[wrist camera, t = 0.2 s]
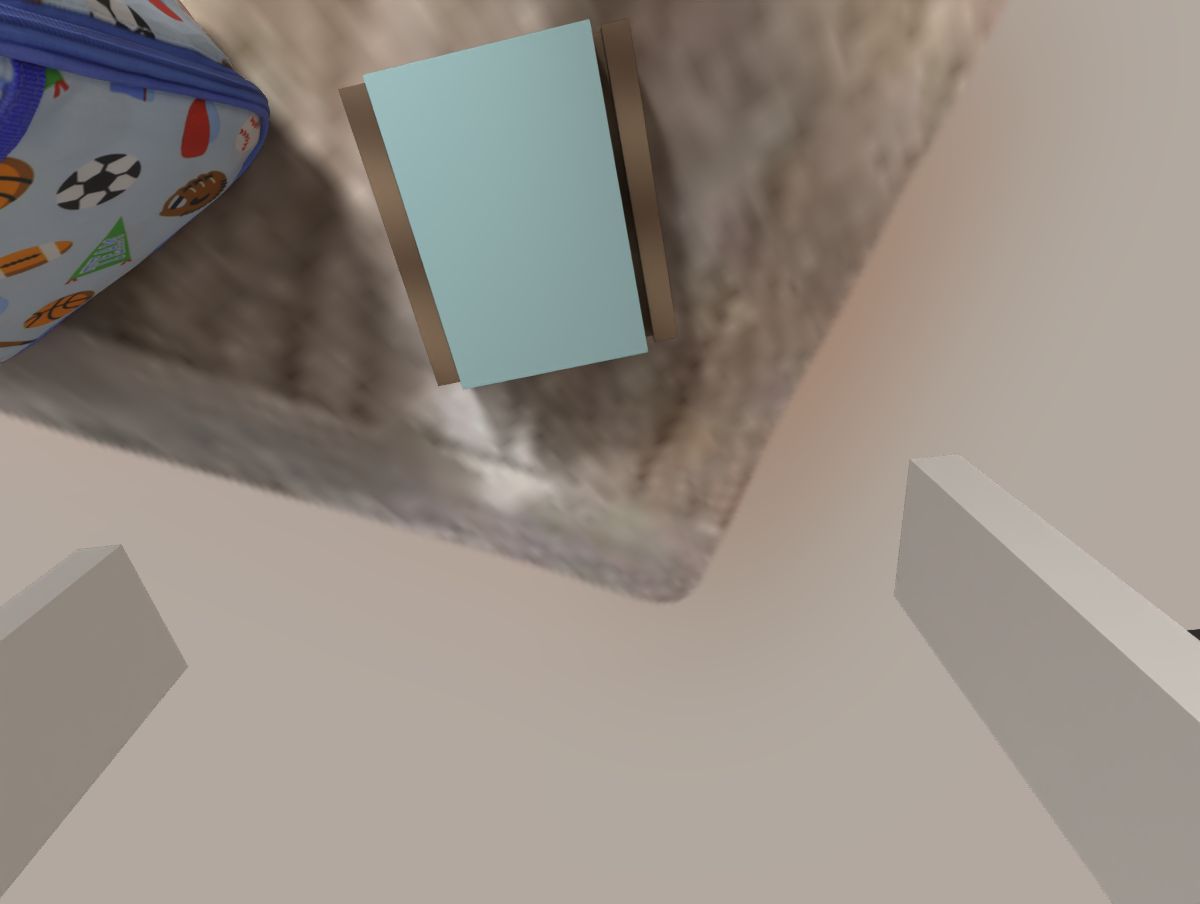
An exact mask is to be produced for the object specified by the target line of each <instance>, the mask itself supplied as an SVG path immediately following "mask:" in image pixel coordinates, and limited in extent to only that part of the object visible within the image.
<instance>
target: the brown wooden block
mask: <svg viewBox="0 0 1200 904" xmlns="http://www.w3.org/2000/svg"><path fill="white" fill-rule="evenodd" d="M592 36H593V41H594V47H595V53H596V58H597V64H598V70H599V76H600V81H601V87H602V93H603V98H604V104H605V110H606V115H607V121H608V127H609V132H610V138H611V144H612V149H613V155H614V161H615V166H616V172H617V178H618V183H619V189H620V195H621V201H622V206H623V212H624V218H625V223H626V229H627V235H628V240H629V246H630V252H631V257H632V263H633V269H634V274H635V280H636V286H637V291H638V297H639V303H640V309H641V314H642V320H643V326H644V331H645V337H646V336H651V335H653V338H654V341H655V342H656V341H661V340H666V339H671V338H676V337H678V336H677V330H676V323H675V316H674V310H673V303H672V297H671V290H670V284H669V277H668V271H667V264H666V257H665V251H664V244H663V238H662V231H661V225H660V218H659V212H658V205H657V199H656V192H655V185H654V179H653V172H652V166H651V159H650V153H649V146H648V140H647V133H646V127H645V120H644V113H643V107H642V100H641V94H640V87H639V81H638V74H637V68H636V61H635V55H634V48H633V41H632V35H631V28H630V22H629V18H627V19H622V20H618V21H614V22H610V23H606V24H602V25H601V32H597V33H593V34H592ZM338 90H339V93H340V96H341V99H342V102H343V105H344V108H345V111H346V114H347V117H348V120H349V123H350V125H351V128H352V131H353V134H354V137H355V140H356V143H357V146H358V149H359V152H360V155H361V158H362V161H363V164H364V167H365V170H366V173H367V176H368V179H369V182H370V185H371V188H372V191H373V194H374V197H375V200H376V203H377V205H378V208H379V211H380V214H381V217H382V220H383V223H384V226H385V229H386V232H387V235H388V238H389V241H390V244H391V247H392V250H393V253H394V256H395V259H396V262H397V265H398V268H399V271H400V274H401V277H402V280H403V283H404V285H405V288H406V291H407V294H408V297H409V300H410V303H411V306H412V309H413V312H414V315H415V318H416V321H417V324H418V327H419V330H420V333H421V336H422V339H423V342H424V345H425V348H426V351H427V354H428V357H429V360H430V362H431V365H432V368H433V371H434V374H435V377H436V380H437V383H438V386H441V385H446V384H451V383H456V382H460V378H459V375H458V372H457V369H456V366H455V363H454V360H453V357H452V353H451V350H450V347H449V344H448V341H447V338H446V335H445V332H444V328H443V325H442V322H441V319H440V316H439V313H438V310H437V307H436V303H435V300H434V297H433V294H432V291H431V288H430V285H429V282H428V278H427V275H426V272H425V269H424V266H423V263H422V260H421V257H420V253H419V250H418V247H417V244H416V241H415V238H414V235H413V232H412V228H411V225H410V222H409V219H408V216H407V213H406V210H405V207H404V203H403V200H402V197H401V194H400V191H399V188H398V185H397V182H396V178H395V175H394V172H393V169H392V166H391V163H390V160H389V157H388V153H387V150H386V147H385V144H384V141H383V138H382V135H381V132H380V128H379V125H378V122H377V119H376V116H375V113H374V110H373V106H372V103H371V100H370V97H369V94H368V91H367V88H366V85H365V83H362V84H358V85H354V86H350V87H346V88H342V89H338Z"/></svg>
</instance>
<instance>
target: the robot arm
mask: <svg viewBox="0 0 1200 904" xmlns="http://www.w3.org/2000/svg"><path fill="white" fill-rule="evenodd" d="M894 597H895V598H896V600H897V601H898V602H899V604H900V605H901V607H902V608H903V609H904V611H905V612H906V614H907V615H908V616H909V618H910V619H911V621H912V622H913V624H914V625H915V626H916V628H917V629H918V631H919V632H920V633H921V635H922V636H923V637H924V639H925V640H926V642H927V643H928V645H929V646H930V647H931V649H932V650H933V652H934V653H935V655H936V656H937V657H938V658H939V660H940V662H941V663H942V664H943V666H944V667H945V669H946V670H947V671H948V673H949V674H950V676H951V677H952V679H953V680H954V681H955V683H956V684H957V686H958V687H959V688H960V690H961V691H962V693H963V694H964V695H965V697H966V698H967V700H968V701H969V702H970V704H971V705H972V707H973V708H974V710H975V711H976V712H977V714H978V715H979V717H980V718H981V719H982V721H983V722H984V724H985V725H986V726H987V728H988V729H989V731H990V732H991V733H992V735H993V736H994V738H995V739H996V741H997V742H998V743H999V745H1000V746H1001V748H1002V749H1003V750H1004V752H1005V753H1006V755H1007V756H1008V757H1009V759H1010V760H1011V762H1012V763H1013V764H1014V766H1015V767H1016V769H1017V770H1018V771H1019V773H1020V774H1021V776H1022V777H1023V779H1024V780H1025V781H1026V783H1027V784H1028V785H1029V787H1030V788H1031V790H1032V791H1033V793H1034V794H1035V795H1036V797H1037V798H1038V800H1039V801H1040V802H1041V804H1042V805H1043V807H1044V808H1045V810H1046V811H1047V812H1048V814H1049V815H1050V816H1051V818H1052V819H1053V821H1054V822H1055V824H1056V825H1057V826H1058V828H1059V829H1060V830H1061V832H1062V833H1063V835H1064V836H1065V838H1066V839H1067V841H1068V842H1069V843H1070V845H1071V846H1072V847H1073V849H1074V850H1075V852H1076V853H1077V855H1078V856H1079V857H1080V859H1081V860H1082V862H1083V863H1084V864H1085V866H1086V867H1087V869H1088V870H1089V871H1090V873H1091V874H1092V876H1093V877H1094V879H1095V880H1096V881H1097V883H1098V884H1099V886H1100V887H1101V888H1102V890H1103V891H1104V892H1105V894H1106V895H1107V897H1108V898H1109V900H1110V901H1111V902H1112V904H1200V629H1197V630H1185V629H1184V628H1183V627H1181V626H1180V625H1179V624H1177V623H1176V622H1175V621H1174V620H1172V619H1171V618H1170V617H1168V616H1167V615H1166V614H1164V613H1163V612H1162V611H1161V610H1159V609H1158V608H1157V607H1155V606H1154V605H1153V604H1152V603H1150V602H1149V601H1147V600H1146V599H1145V598H1144V597H1143V596H1141V595H1140V594H1139V593H1137V592H1136V591H1135V590H1133V589H1132V588H1131V587H1130V586H1128V585H1127V584H1126V583H1124V582H1123V581H1122V580H1121V579H1119V578H1118V577H1117V576H1115V575H1114V574H1113V573H1112V572H1110V571H1109V570H1108V569H1106V568H1105V567H1104V566H1102V565H1101V564H1100V563H1099V562H1097V561H1096V560H1095V559H1094V558H1092V557H1091V556H1090V555H1088V554H1087V553H1086V552H1084V551H1083V550H1082V549H1081V548H1079V547H1078V546H1077V545H1075V544H1074V543H1073V542H1072V541H1070V540H1069V539H1068V538H1066V537H1065V536H1064V535H1062V534H1061V533H1060V532H1059V531H1057V530H1056V529H1055V528H1053V527H1052V526H1051V525H1050V524H1048V523H1047V522H1046V521H1044V520H1043V519H1042V518H1041V517H1039V516H1038V515H1037V514H1035V513H1034V512H1033V511H1031V510H1030V509H1029V508H1028V507H1026V506H1025V505H1024V504H1022V503H1021V502H1020V501H1018V500H1017V499H1016V498H1015V497H1013V496H1012V495H1011V494H1009V493H1008V492H1007V491H1006V490H1004V489H1003V488H1002V487H1001V486H999V485H998V484H997V483H995V482H994V481H993V480H991V479H990V478H989V477H988V476H986V475H985V474H984V473H982V472H981V471H980V470H979V469H977V468H976V467H975V466H973V465H972V464H971V463H969V462H968V461H967V460H966V459H964V458H963V457H962V456H960V455H959V454H953V455H943V456H934V457H925V458H915V459H910V462H909V471H908V479H907V488H906V496H905V505H904V514H903V522H902V531H901V539H900V548H899V556H898V565H897V574H896V583H895V590H894ZM187 667H188V666H187V664H186V662H185V660H184V658H183V656H182V655H181V653H180V651H179V649H178V647H177V645H176V644H175V642H174V640H173V638H172V636H171V634H170V633H169V631H168V629H167V627H166V626H165V624H164V622H163V620H162V618H161V616H160V615H159V613H158V611H157V609H156V607H155V605H154V603H153V602H152V600H151V598H150V596H149V594H148V593H147V591H146V589H145V587H144V585H143V583H142V582H141V580H140V578H139V576H138V574H137V572H136V571H135V569H134V567H133V565H132V563H131V562H130V560H129V558H128V556H127V554H126V553H125V551H124V549H123V547H122V545H114V546H106V547H96V548H86V549H78V550H76V551H75V552H74V553H72V554H71V555H69V556H68V557H67V558H65V559H64V560H63V561H61V562H60V563H59V564H57V565H56V566H55V567H53V568H52V569H51V570H49V571H48V572H46V573H45V574H44V575H43V576H41V577H40V578H38V579H37V580H36V581H34V582H33V583H32V584H30V585H29V586H28V587H26V588H25V589H24V590H22V591H21V592H20V593H18V594H17V595H16V596H14V597H13V598H11V599H10V600H9V601H7V602H6V603H5V604H3V605H2V606H1V607H0V898H1V897H2V895H3V894H4V893H5V892H6V891H7V889H8V888H9V887H10V885H11V884H12V883H13V882H14V880H15V879H16V878H17V877H18V876H19V874H20V873H21V872H22V871H23V870H24V868H25V867H26V866H27V865H28V863H29V862H30V861H31V860H32V858H33V857H34V856H35V855H36V853H37V852H38V851H39V850H40V849H41V847H42V846H43V845H44V843H45V842H46V841H47V840H48V839H49V837H50V836H51V835H52V834H53V832H54V831H55V830H56V829H57V828H58V826H59V825H60V824H61V823H62V821H63V820H64V819H65V818H66V817H67V815H68V814H69V813H70V811H71V810H72V809H73V808H74V807H75V805H76V804H77V803H78V802H79V800H80V799H81V798H82V796H84V794H85V793H86V792H87V791H88V789H89V788H90V787H91V785H92V784H93V783H94V782H95V781H96V780H97V778H98V777H99V776H100V775H101V773H102V772H103V771H104V770H105V768H106V767H107V766H108V765H109V764H110V762H111V761H112V760H113V759H114V757H115V756H116V755H117V753H118V752H119V751H120V750H121V749H122V747H123V746H124V745H125V744H126V743H127V741H128V740H129V739H130V738H131V736H132V735H133V734H134V733H135V731H136V730H137V729H138V728H139V727H140V725H141V724H142V723H143V722H144V720H145V719H146V718H147V716H148V715H149V714H150V713H151V712H152V710H153V709H154V708H155V707H156V706H157V704H158V703H159V702H160V701H161V699H162V698H163V697H164V696H165V694H166V693H167V692H168V691H169V690H170V688H171V687H172V686H173V685H174V683H175V682H176V681H177V680H178V678H179V677H180V676H181V675H182V674H183V672H184V671H185V670H186V669H187Z"/></svg>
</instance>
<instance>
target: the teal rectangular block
mask: <svg viewBox="0 0 1200 904" xmlns="http://www.w3.org/2000/svg"><path fill="white" fill-rule="evenodd" d="M363 78H364V81H365V85H366V88H367V91H368V94H369V97H370V100H371V103H372V106H373V110H374V113H375V116H376V119H377V122H378V125H379V128H380V132H381V135H382V138H383V141H384V144H385V147H386V150H387V153H388V157H389V160H390V163H391V166H392V169H393V172H394V175H395V178H396V182H397V185H398V188H399V191H400V194H401V197H402V200H403V203H404V207H405V210H406V213H407V216H408V219H409V222H410V225H411V228H412V232H413V235H414V238H415V241H416V244H417V247H418V250H419V253H420V257H421V260H422V263H423V266H424V269H425V272H426V275H427V278H428V282H429V285H430V288H431V291H432V294H433V297H434V300H435V303H436V307H437V310H438V313H439V316H440V319H441V322H442V325H443V328H444V332H445V335H446V338H447V341H448V344H449V347H450V350H451V353H452V357H453V360H454V363H455V366H456V369H457V372H458V375H459V378H460V382H461V385H462V388H463V390H464V389H469V388H474V387H479V386H484V385H489V384H494V383H499V382H504V381H508V380H513V379H518V378H523V377H528V376H533V375H538V374H543V373H548V372H553V371H558V370H563V369H567V368H572V367H577V366H582V365H587V364H592V363H597V362H602V361H607V360H612V359H617V358H622V357H626V356H631V355H636V354H641V353H646V352H648V348H647V343H646V337H645V331H644V326H643V320H642V314H641V309H640V303H639V297H638V291H637V286H636V280H635V274H634V269H633V263H632V257H631V252H630V246H629V240H628V235H627V229H626V223H625V218H624V212H623V206H622V201H621V195H620V189H619V183H618V178H617V172H616V166H615V161H614V155H613V149H612V144H611V138H610V132H609V127H608V121H607V115H606V110H605V104H604V98H603V93H602V87H601V81H600V76H599V70H598V64H597V58H596V53H595V47H594V41H593V36H592V30H591V24H590V19H587V20H583V21H579V22H575V23H571V24H567V25H563V26H559V27H555V28H551V29H547V30H543V31H539V32H534V33H530V34H526V35H522V36H518V37H514V38H510V39H506V40H502V41H498V42H494V43H490V44H486V45H482V46H478V47H474V48H470V49H466V50H462V51H458V52H454V53H450V54H446V55H441V56H437V57H433V58H429V59H425V60H421V61H417V62H413V63H409V64H405V65H401V66H397V67H393V68H389V69H385V70H381V71H377V72H373V73H369V74H365V75H363Z"/></svg>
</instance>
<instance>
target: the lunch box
mask: <svg viewBox="0 0 1200 904" xmlns="http://www.w3.org/2000/svg"><path fill="white" fill-rule="evenodd" d="M269 117H270V110H269V107H268V100H267V98H266V97H265V95H264V94H263V93H262V91H261V90H260V89H259V88H258V87H257V86H256V85H254V84H253V83H251V82H250V81H248V80H245V79H244V78H243V77H242V76H240V75H239V74H237V73H236V72H235V70H234V68H233V66H232V64H231V63H230V61H229V60H228V58H227V57H226V55H225V54H224V53H223V52H222V51H221V50H220V49H219V48H218V47H217V46H216V45H215V44H214V42H213V41H212V40H211V39H210V38H209V36H208V35H207V34H206V33H205V32H204V30H203V29H202V28H201V27H200V26H199V25H198V23H197V22H196V21H195V20H194V18H193V17H192V16H191V14H190V13H189V12H188V10H187V9H186V8H185V6H184V5H183V4H182V3H181V2H180V0H0V363H2V362H4V361H6V360H8V359H10V358H12V357H13V356H15V355H17V354H19V353H20V352H22V351H23V350H25V349H27V348H28V347H30V346H31V345H33V344H34V343H35V342H37V341H38V340H40V339H41V338H42V337H43V336H45V335H46V334H47V333H48V332H49V331H51V330H52V329H53V328H54V327H56V326H57V325H58V324H59V323H61V322H62V321H63V320H64V319H65V318H67V317H68V316H69V315H70V314H72V313H73V312H75V311H76V310H77V309H79V308H80V307H81V306H82V305H84V304H85V303H86V302H87V301H89V300H90V299H91V298H92V297H94V296H95V295H97V294H98V293H99V292H101V291H102V290H103V289H105V288H106V287H108V286H109V285H110V284H112V283H113V282H115V281H116V280H117V279H119V278H120V277H121V276H123V275H124V274H126V273H127V272H128V271H130V270H131V269H133V268H134V267H135V266H137V265H138V264H139V263H140V262H141V261H143V260H144V259H145V258H146V257H148V256H149V255H150V254H152V253H153V252H154V251H156V250H158V249H159V248H160V247H161V246H162V245H163V244H164V243H165V242H166V241H168V240H169V239H170V238H171V237H172V236H173V235H174V234H175V233H177V232H178V231H179V230H180V229H181V228H182V227H183V226H185V225H186V224H187V223H188V222H189V221H191V220H192V219H193V218H194V217H196V216H197V215H198V214H199V213H200V212H202V211H203V210H204V209H205V208H206V207H208V206H209V205H210V204H211V203H212V202H214V201H215V200H216V199H217V198H218V197H219V196H220V195H221V194H223V193H224V192H225V191H226V190H227V189H228V188H229V187H230V186H231V185H232V184H233V183H234V182H235V181H236V180H237V179H238V178H239V177H240V176H241V175H242V174H243V173H244V171H245V170H246V169H247V168H248V167H249V165H250V164H251V163H252V162H253V160H254V159H255V158H256V156H257V155H258V153H259V152H260V150H261V148H262V146H263V144H264V142H265V140H266V136H267V133H268V128H269Z"/></svg>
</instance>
